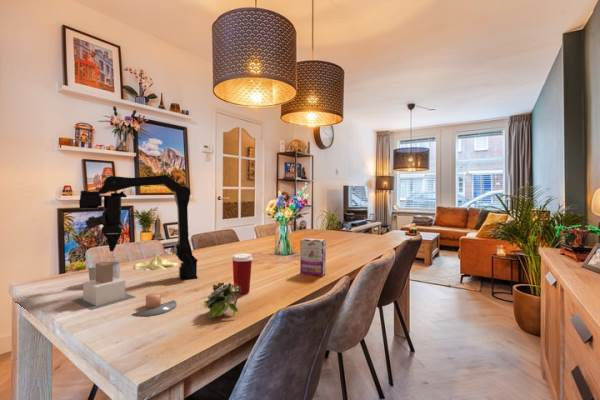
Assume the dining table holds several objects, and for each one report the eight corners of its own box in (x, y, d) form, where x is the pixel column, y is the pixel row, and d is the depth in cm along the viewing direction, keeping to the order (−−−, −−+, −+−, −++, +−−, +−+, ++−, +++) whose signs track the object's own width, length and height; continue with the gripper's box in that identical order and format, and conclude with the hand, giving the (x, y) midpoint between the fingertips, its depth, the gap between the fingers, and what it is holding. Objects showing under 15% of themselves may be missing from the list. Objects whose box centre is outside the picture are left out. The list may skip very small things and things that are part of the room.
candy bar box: (325, 274, 141) (326, 239, 141) (322, 276, 137) (323, 240, 136) (303, 271, 145) (304, 237, 145) (299, 273, 141) (300, 238, 140)
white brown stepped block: (111, 292, 109) (111, 259, 109) (124, 297, 104) (125, 263, 104) (83, 299, 101) (83, 264, 101) (96, 305, 96) (96, 268, 96)
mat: (115, 291, 112) (115, 289, 112) (136, 298, 105) (136, 297, 105) (70, 302, 100) (70, 300, 100) (91, 311, 93) (91, 309, 93)
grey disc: (173, 297, 107) (173, 286, 107) (179, 311, 95) (179, 298, 95) (128, 303, 100) (128, 292, 100) (128, 319, 88) (128, 306, 88)
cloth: (126, 268, 147) (126, 255, 147) (161, 261, 163) (161, 249, 163) (153, 275, 135) (153, 261, 135) (188, 267, 151) (188, 255, 151)
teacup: (104, 288, 115) (104, 267, 114) (80, 286, 117) (80, 265, 117) (132, 278, 128) (132, 259, 128) (110, 276, 130) (110, 258, 130)
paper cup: (255, 290, 116) (256, 254, 115) (245, 297, 109) (246, 258, 108) (237, 288, 118) (238, 252, 118) (226, 294, 111) (227, 256, 111)
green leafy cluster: (217, 326, 97) (227, 289, 104) (244, 327, 92) (253, 288, 99) (192, 316, 89) (205, 277, 96) (221, 317, 84) (232, 275, 91)
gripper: (89, 207, 120) (89, 246, 121) (84, 210, 104) (83, 255, 105) (121, 207, 126) (121, 244, 126) (121, 210, 110) (121, 253, 110)
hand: (112, 249), depth 117 cm, fingers open, 9 cm apart
